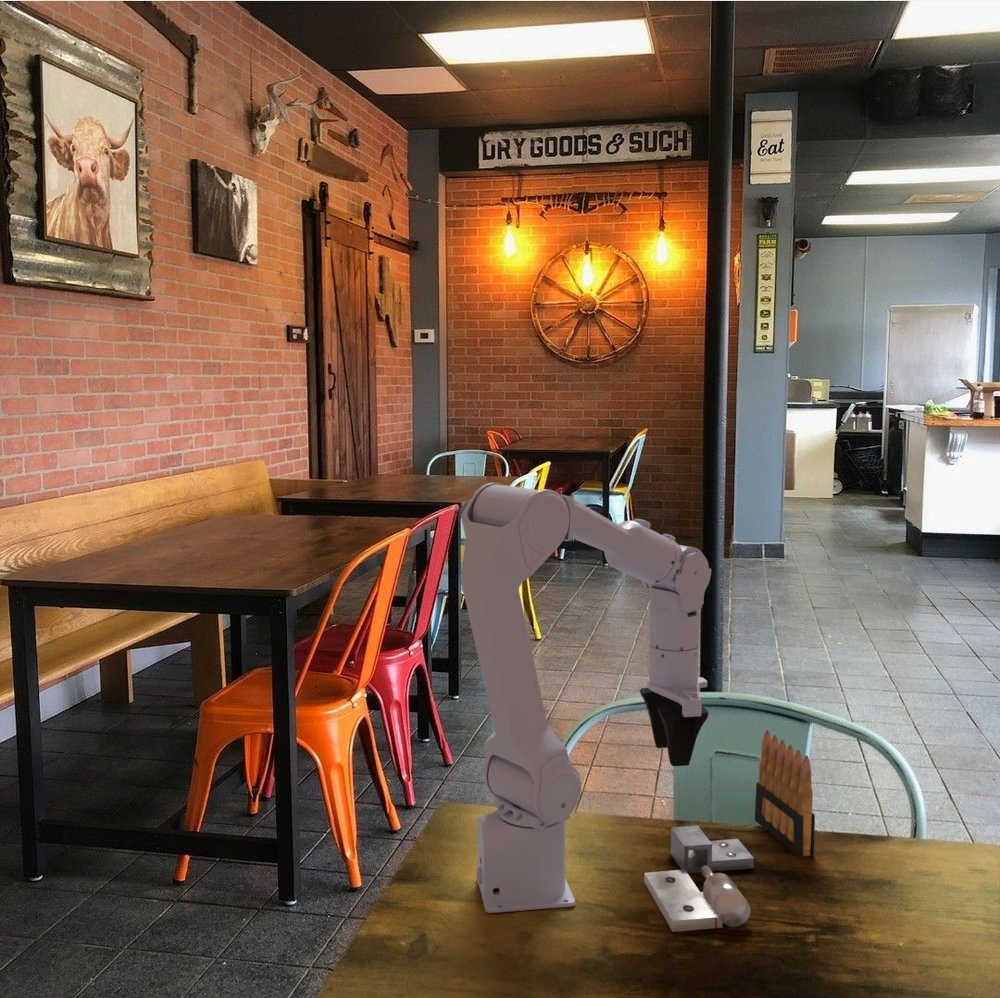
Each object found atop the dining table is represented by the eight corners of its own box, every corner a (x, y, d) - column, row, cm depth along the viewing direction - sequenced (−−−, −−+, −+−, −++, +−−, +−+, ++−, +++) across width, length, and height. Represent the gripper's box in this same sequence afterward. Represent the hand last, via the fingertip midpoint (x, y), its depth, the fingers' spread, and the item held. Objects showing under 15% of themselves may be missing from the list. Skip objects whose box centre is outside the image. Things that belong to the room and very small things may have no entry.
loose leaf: (683, 873, 114) (684, 846, 113) (670, 853, 118) (671, 827, 118) (753, 868, 115) (754, 841, 114) (737, 848, 120) (738, 822, 119)
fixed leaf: (672, 932, 102) (673, 901, 102) (644, 883, 112) (644, 855, 111) (750, 925, 103) (750, 895, 103) (715, 877, 113) (715, 850, 113)
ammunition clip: (814, 857, 118) (818, 757, 116) (800, 859, 117) (803, 759, 116) (767, 818, 128) (770, 726, 126) (754, 820, 127) (756, 727, 126)
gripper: (728, 660, 114) (725, 777, 116) (686, 628, 128) (684, 732, 130) (667, 663, 113) (665, 780, 115) (632, 630, 127) (630, 735, 129)
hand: (672, 755), depth 122 cm, fingers open, 5 cm apart
